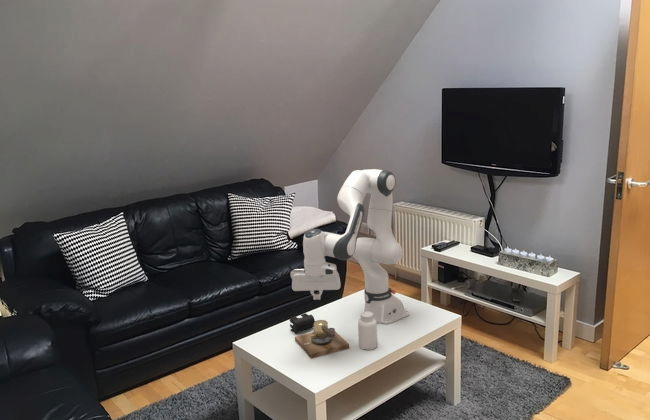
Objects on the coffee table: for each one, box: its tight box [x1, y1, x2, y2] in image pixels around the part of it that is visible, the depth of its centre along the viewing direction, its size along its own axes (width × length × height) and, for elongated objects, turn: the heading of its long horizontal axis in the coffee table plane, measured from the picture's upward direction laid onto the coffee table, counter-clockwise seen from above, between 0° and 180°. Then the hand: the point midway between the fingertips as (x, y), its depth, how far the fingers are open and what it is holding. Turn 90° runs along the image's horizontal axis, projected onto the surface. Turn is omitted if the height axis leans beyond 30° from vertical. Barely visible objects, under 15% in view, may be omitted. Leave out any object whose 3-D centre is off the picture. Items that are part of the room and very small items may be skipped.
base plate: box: [294, 330, 350, 359], centre depth 247 cm, size 18×18×2 cm
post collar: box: [311, 333, 332, 345], centre depth 246 cm, size 9×9×2 cm
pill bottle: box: [357, 311, 378, 351], centre depth 242 cm, size 8×8×15 cm
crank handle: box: [311, 319, 336, 339], centre depth 241 cm, size 16×10×8 cm, turn 25°
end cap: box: [289, 313, 316, 335], centre depth 260 cm, size 10×7×7 cm
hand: (317, 299), depth 236 cm, fingers closed
